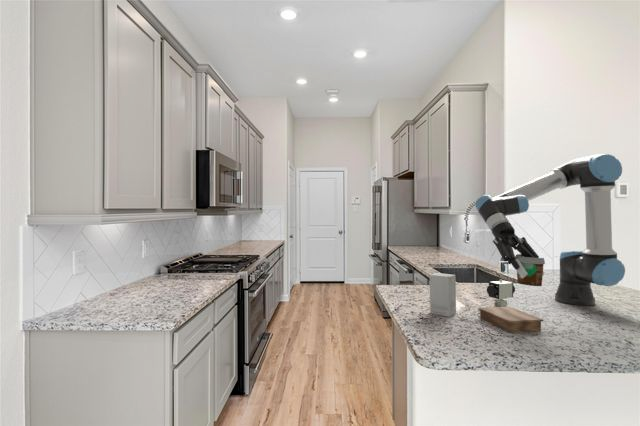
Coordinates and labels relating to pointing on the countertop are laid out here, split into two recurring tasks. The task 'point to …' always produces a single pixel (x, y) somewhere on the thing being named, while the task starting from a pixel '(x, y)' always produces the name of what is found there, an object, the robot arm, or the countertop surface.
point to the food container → (531, 270)
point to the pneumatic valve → (500, 292)
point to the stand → (510, 319)
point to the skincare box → (443, 294)
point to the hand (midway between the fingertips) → (533, 275)
